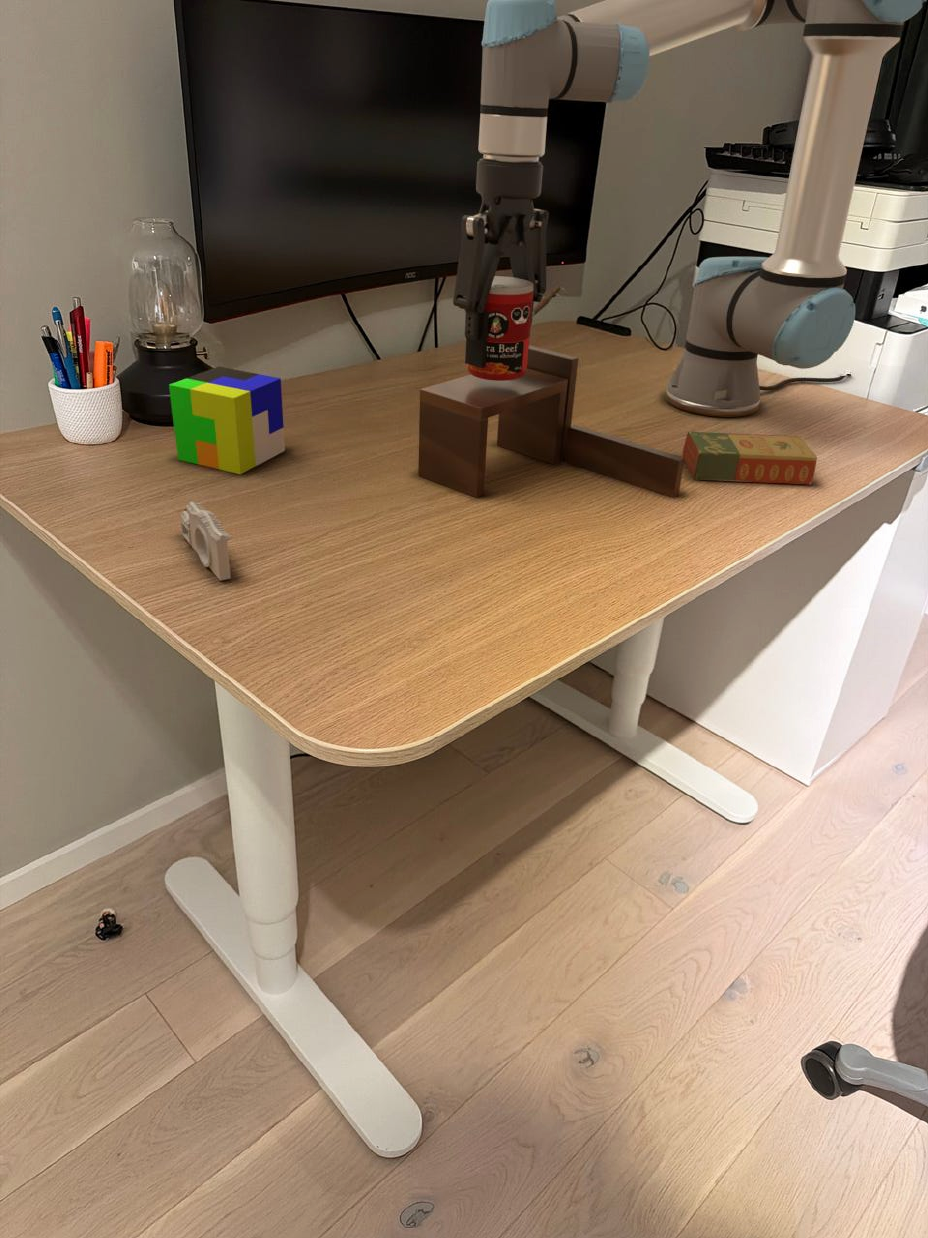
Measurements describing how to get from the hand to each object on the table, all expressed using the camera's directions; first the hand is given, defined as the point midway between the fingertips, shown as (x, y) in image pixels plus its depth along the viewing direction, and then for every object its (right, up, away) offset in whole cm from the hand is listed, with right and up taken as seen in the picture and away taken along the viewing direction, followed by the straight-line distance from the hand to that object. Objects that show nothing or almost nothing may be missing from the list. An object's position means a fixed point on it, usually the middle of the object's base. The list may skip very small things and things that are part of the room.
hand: (497, 358), depth 115 cm
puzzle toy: (-35, -11, +8) cm, 38 cm away
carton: (+35, -13, +11) cm, 38 cm away
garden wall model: (-32, -27, -18) cm, 45 cm away
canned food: (0, -2, +1) cm, 2 cm away
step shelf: (+7, -15, +4) cm, 17 cm away
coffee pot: (+6, +7, +42) cm, 43 cm away
